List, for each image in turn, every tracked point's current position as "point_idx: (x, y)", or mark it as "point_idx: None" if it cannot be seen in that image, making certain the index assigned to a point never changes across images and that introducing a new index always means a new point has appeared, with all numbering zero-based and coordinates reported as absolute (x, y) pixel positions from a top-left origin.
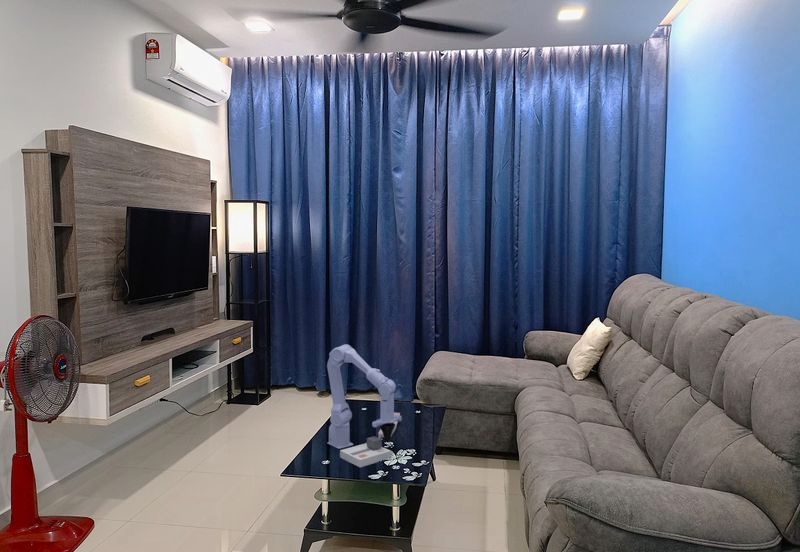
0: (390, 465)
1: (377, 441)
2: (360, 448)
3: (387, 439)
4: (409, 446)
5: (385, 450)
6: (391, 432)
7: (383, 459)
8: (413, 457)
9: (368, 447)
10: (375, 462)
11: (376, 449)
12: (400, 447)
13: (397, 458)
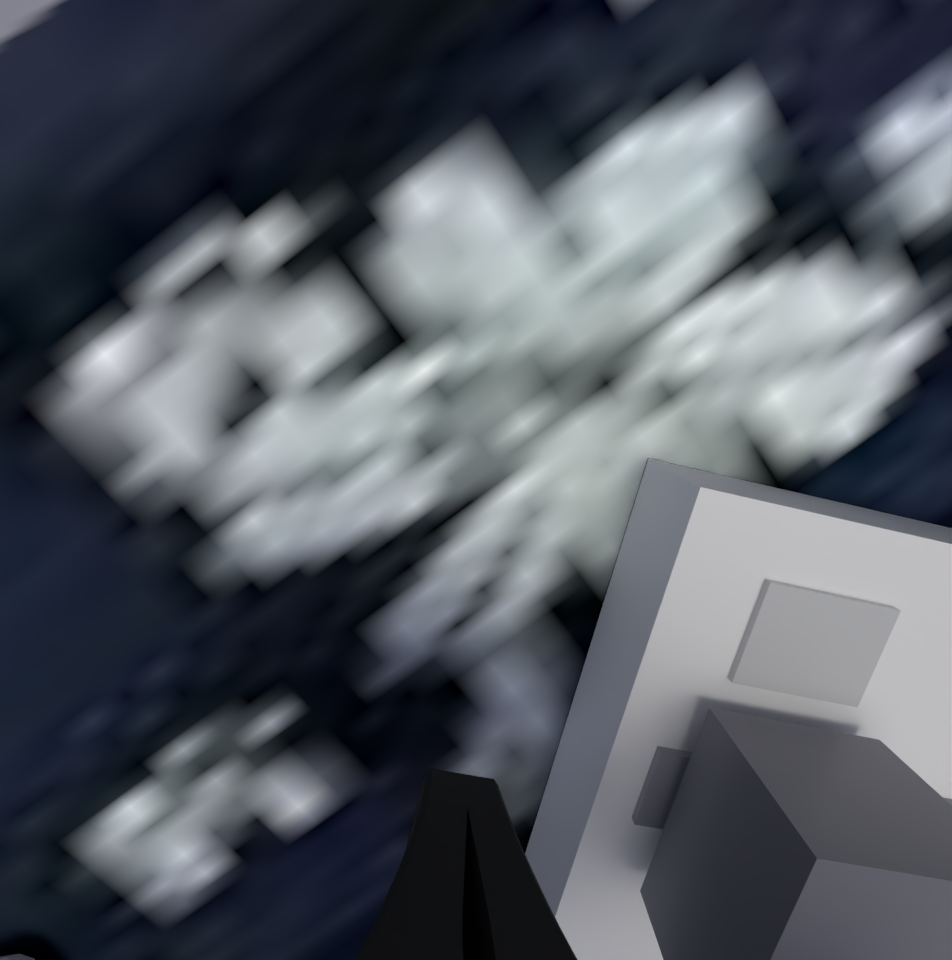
0: (932, 265)
1: (921, 853)
2: None
3: (505, 808)
4: (34, 529)
5: (742, 583)
6: (392, 943)
7: (801, 496)
8: (404, 144)
9: None
10: (939, 526)
11: None
12: (181, 615)
13: (609, 360)
